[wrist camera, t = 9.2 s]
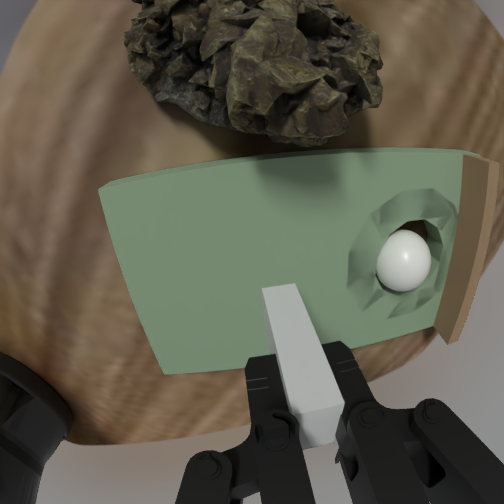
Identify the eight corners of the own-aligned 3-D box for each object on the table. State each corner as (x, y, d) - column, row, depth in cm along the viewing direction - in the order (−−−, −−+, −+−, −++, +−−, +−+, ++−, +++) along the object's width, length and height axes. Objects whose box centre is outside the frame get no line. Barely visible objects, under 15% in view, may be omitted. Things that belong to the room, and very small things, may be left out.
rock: (321, 188, 17) (441, 80, 10) (189, 231, 10) (411, -20, 3) (211, 65, 19) (285, -32, 12) (88, 55, 12) (166, -91, 5)
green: (167, 355, 22) (160, 400, 18) (111, 181, 15) (77, 203, 11) (439, 307, 22) (465, 337, 18) (463, 150, 16) (506, 163, 12)
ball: (359, 281, 19) (396, 311, 16) (363, 227, 17) (407, 252, 14) (399, 265, 20) (435, 291, 17) (404, 216, 18) (447, 237, 15)
